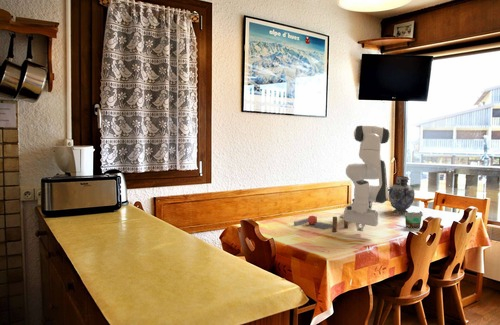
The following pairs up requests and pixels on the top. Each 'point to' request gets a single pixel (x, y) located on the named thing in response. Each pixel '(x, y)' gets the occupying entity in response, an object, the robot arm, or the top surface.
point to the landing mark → (320, 225)
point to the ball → (312, 220)
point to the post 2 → (345, 224)
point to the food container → (413, 219)
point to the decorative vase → (401, 195)
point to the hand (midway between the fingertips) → (360, 231)
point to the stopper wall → (301, 221)
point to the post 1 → (334, 224)
